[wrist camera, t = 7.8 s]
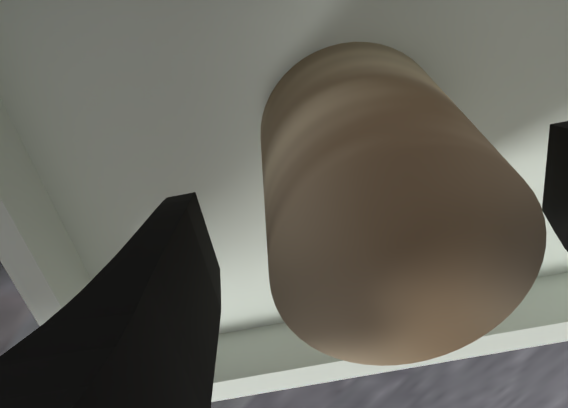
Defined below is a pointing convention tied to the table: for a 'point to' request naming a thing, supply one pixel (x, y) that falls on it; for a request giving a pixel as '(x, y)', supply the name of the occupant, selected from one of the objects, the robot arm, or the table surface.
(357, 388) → the table surface
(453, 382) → the table surface
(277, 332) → the tray
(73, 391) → the robot arm
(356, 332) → the beige rounded cylinder
